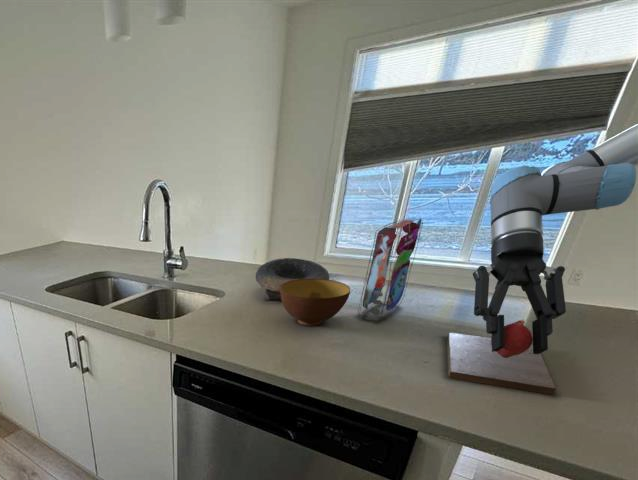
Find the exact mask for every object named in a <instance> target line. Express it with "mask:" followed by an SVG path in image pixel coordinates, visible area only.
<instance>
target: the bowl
mask: <svg viewBox="0 0 638 480" xmlns="http://www.w3.org/2000/svg"><path fill="white" fill-rule="evenodd" d="M350 294H351V287H350V286H349V285H347V284H346V283H343V282H341V281H337V280H333V279H329V280H327V279H297V280H292V281H288V282H286V283H284V284H282V285H281V289H280V295H281V299H280V300H281V303H282V306H283V307H284V309H285V311H286V312H287V313H288V315H290V316H291V317H292V318H294V319H296V320H297V323H299V324H301V325H303V326H309V327H313V326H314V327H315V326H319V325H321V324H322V322H325V321H327V320H330V319H331V318H332V317H333V318H334V316H335V315H337V314H338V313H340V310H342V309H343V307H344V306H345V305H346V303H347V301H348V299H349V296H350Z"/></svg>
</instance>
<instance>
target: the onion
mask: <svg viewBox="0 0 638 480" xmlns="http://www.w3.org/2000/svg"><path fill="white" fill-rule="evenodd" d="M504 337H505V347H504V348H502V349H500V350H499V351H497V353H498V354H499V355H501V356H502V357H503V358H509V357H511V356H515V355H518V354H521V353H523V352H525V351H526V350H527V349H529V348H530V346H531V344H532V343H533V333H532V332H531V330H530V329H529V328H528V327H527V326H526V325H525V320H524V319H519V320H517V321H515V322H512V323H511V322H510V323H508V324H506V325H505V324H504ZM490 338H491V345H492V337H490Z"/></svg>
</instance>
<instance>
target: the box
mask: <svg viewBox="0 0 638 480" xmlns="http://www.w3.org/2000/svg"><path fill="white" fill-rule="evenodd" d="M423 222H424V221H423V220H422V218H417V219H416V218H415V219H405V218H404V219H400V220H397V221H393V222H390V223H388V224H385V225H383V226H382V228H381V229H380V228H378V229H376V230H375V234H374V239H373V245H372V249H371V252H370V256H369V261H368V265H367V268H369V267H370V269H366V274H365V277H367V278H365V279H364V281H365V282H364V283H363V285H364V286H363V287H362V292H361V296H360V301H359V302H360V304H359V306H358V307H359V308H358V310H357V312H358V313H357V315H358V316H362V320H364V321H366V319H364V318H367V319H368V321H369V322H370V321H373V322H375V323H376V320H374V319H372V318H370V317H368V316H365V315H366V314H367V311H368V309H369V305H377V306H375V307H371V308H370V310H369V312H370V314H371V315H372V316H376V317H379V316H380V318H379V320H378V321H377V323H379V322H382V321H383V320H384V321H385V319H386V317H387V316H388V317H390V316H391V314H389V313H387V314H385V315H384V316H383V312H384V309H385V311H386V312H388V311H389V312H390V313H392V314H394V313H395V311H397V310H399V306H400V304H402V302H403V300H404V297H405V293H406V292H405V291H407V287H408V285H406V284H408V282H409V281H407V280H409V279H410V277H408V276H411V275H410V274H411V270H412V267H413V264H414V260H415V258H416V257H415V256H416V252H417V249H418V245H419V241H420V238H421V233H422V229H423V225H424V223H423ZM397 230H399V231H397ZM401 230H402V231H403V233H405V235H401V237H400V234H401ZM399 237H400V239H399ZM398 240H399V242H398ZM417 240H418V242H417ZM397 242H398V243H397ZM396 243H397V244H396ZM395 245H396V246H395ZM394 248H395V251H394V250H393V249H394ZM414 250H415V252H414ZM393 252H394V253H393ZM395 253H396V256H395ZM413 253H414V255H413V256H414V257H413V261H412V262H411V259H410V258H411V256H412V254H413ZM392 254H393V255H392ZM394 257H395V260H394V262H393V259H394ZM371 259H372V260H371ZM392 262H393V263H394V264H393V268H391V267H392ZM370 263H371V264H370ZM410 264H411V265H410ZM389 265H390V267H389ZM388 268H389V274H388ZM391 269H392V270H391ZM368 272H369V273H368ZM408 273H409V274H408ZM387 274H388V277H390V278H388V283H387V285H386V280H387ZM385 286H387V287H386V290H385V292H383V290H384V287H385ZM363 293H364V294H363ZM384 293H385V294H384ZM387 295H388V296H387ZM383 296H384V301H381V298H382V297H383ZM379 297H380V298H379ZM401 299H402V300H401ZM386 300H387V301H386ZM399 302H400V303H399ZM361 304H362V307H363V308H364V309H365V310H364V311H363V312H362V313H361V312H360V311H361V309H362V307H361ZM380 306H382V309H381V311H380V309H379V308H378V307H380ZM384 307H385V308H384ZM395 307H396V308H395ZM359 309H360V310H359ZM381 319H382V320H381Z"/></svg>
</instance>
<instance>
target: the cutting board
mask: <svg viewBox="0 0 638 480" xmlns="http://www.w3.org/2000/svg"><path fill="white" fill-rule="evenodd" d="M491 338H492V337H489V336H479V335H471V334H465V333H464V334H462V333H456V332H448V334H447V337H446V348H447V349H446V350H447V373H448V374H447V375H448V379H453V380H454V379H455V380H460V381H467V382H473V383H477V384H483V385H484V384H485V385H489V386H490V385H491V386H495V387H501V388H506V389H507V388H508V389H513V390H518V391H519V390H520V391H526V392H533V393H539V394H543V395H550V396H553V395H554V393H555V391H556V390H557V388H556V385H555V383H554V381H553V379H552V376H551V375H550V372H549V369H548V367H547V365H546V363H545V360H544V359H543V356H542V353H540V354H533V342H532V344H531V346H530V348H529V349H527V350H526V351H525V352H523V353H521V354H518V355H515V356H511V357H509V358H503V357H502V356H501V355H499V354H498V353H497V352H495V351H492V345H491Z"/></svg>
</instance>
